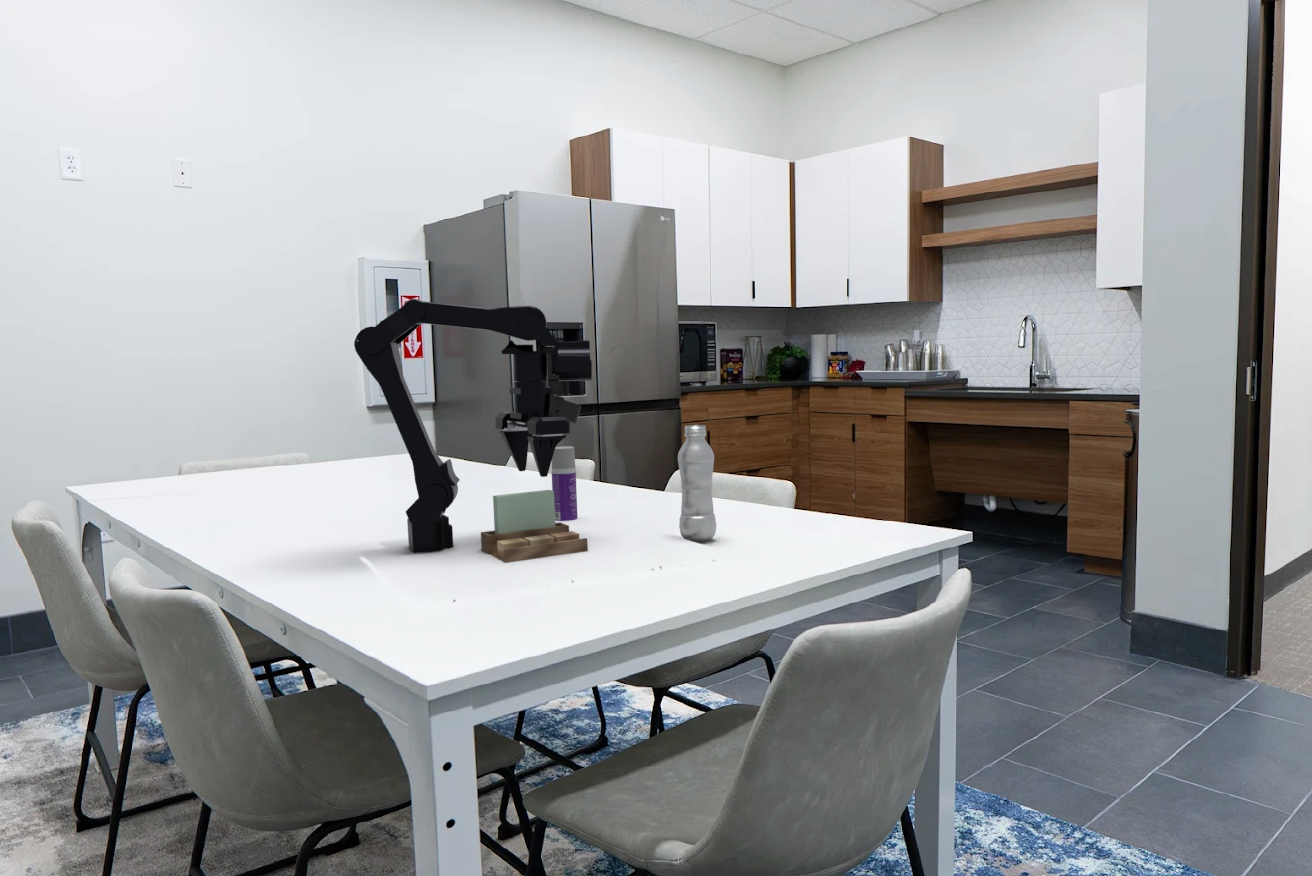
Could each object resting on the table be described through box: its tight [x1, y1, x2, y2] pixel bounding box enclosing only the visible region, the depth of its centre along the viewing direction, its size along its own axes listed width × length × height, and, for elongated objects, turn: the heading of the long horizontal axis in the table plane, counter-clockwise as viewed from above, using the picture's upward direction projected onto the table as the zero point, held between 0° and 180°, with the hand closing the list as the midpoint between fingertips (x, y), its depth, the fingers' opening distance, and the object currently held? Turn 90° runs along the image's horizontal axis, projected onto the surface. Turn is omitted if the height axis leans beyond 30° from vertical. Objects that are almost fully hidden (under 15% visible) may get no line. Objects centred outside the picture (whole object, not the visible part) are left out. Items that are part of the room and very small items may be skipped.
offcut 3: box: [550, 530, 580, 542], centre depth 150 cm, size 4×3×2 cm
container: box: [551, 445, 579, 522], centre depth 178 cm, size 5×5×15 cm
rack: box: [480, 521, 589, 564], centre depth 150 cm, size 14×12×4 cm
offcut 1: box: [497, 538, 528, 559], centre depth 145 cm, size 4×3×2 cm
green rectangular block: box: [492, 489, 556, 534], centre depth 153 cm, size 10×2×9 cm, turn 119°
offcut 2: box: [524, 535, 554, 546], centre depth 148 cm, size 4×3×2 cm
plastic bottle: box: [677, 424, 717, 543], centre depth 157 cm, size 6×7×20 cm
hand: (532, 473), depth 155 cm, fingers open, 9 cm apart
